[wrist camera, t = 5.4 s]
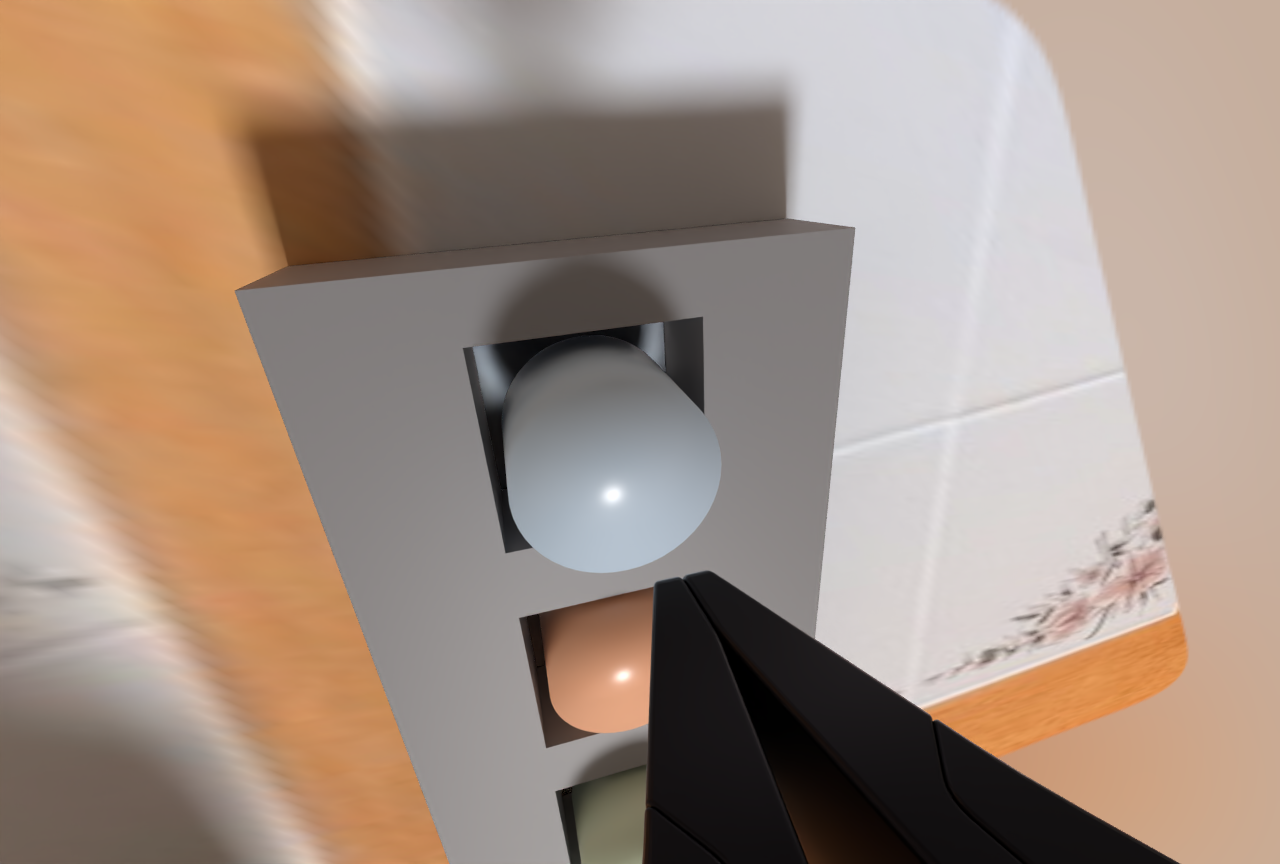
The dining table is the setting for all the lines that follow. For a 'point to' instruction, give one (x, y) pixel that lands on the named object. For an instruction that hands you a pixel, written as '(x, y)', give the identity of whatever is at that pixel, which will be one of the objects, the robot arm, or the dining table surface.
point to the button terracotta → (600, 661)
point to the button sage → (611, 817)
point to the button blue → (605, 456)
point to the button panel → (477, 507)
